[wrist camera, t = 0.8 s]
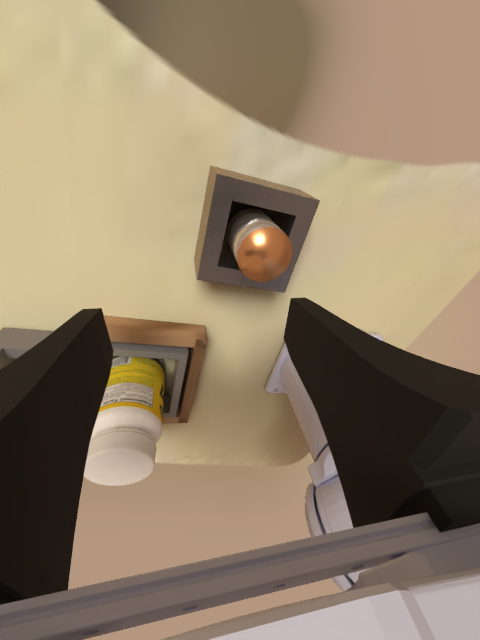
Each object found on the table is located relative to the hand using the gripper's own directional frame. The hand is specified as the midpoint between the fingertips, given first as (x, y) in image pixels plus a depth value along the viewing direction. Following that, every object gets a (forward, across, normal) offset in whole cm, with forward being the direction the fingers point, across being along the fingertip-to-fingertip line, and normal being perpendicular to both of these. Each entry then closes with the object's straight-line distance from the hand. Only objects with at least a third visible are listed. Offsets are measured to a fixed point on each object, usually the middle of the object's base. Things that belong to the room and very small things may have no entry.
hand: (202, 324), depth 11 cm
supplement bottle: (+9, +5, +10) cm, 15 cm away
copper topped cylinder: (+7, -3, -1) cm, 8 cm away
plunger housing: (+9, -3, -1) cm, 9 cm away
